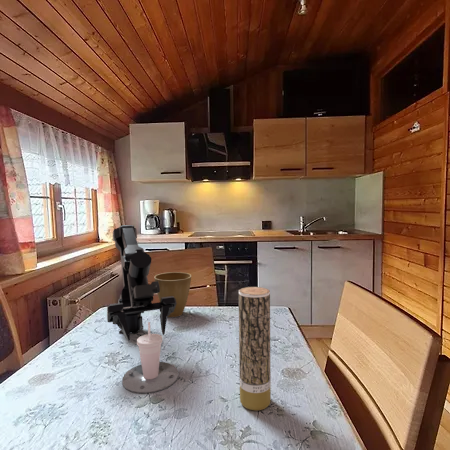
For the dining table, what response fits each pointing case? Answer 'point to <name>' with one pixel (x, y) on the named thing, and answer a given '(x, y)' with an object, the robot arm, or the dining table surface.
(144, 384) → the flange plate
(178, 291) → the plant pot
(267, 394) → the paper tube
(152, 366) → the smoothie
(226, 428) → the dining table surface
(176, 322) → the dining table surface
